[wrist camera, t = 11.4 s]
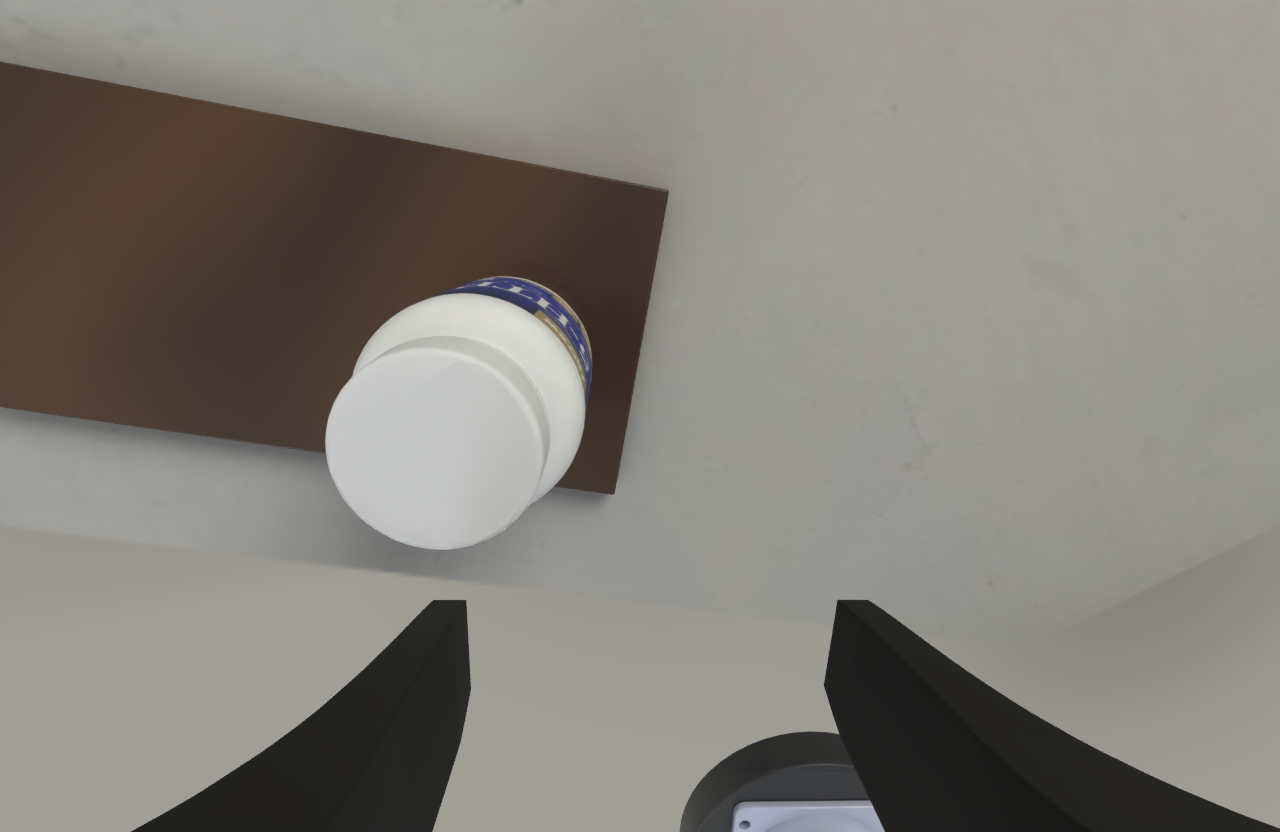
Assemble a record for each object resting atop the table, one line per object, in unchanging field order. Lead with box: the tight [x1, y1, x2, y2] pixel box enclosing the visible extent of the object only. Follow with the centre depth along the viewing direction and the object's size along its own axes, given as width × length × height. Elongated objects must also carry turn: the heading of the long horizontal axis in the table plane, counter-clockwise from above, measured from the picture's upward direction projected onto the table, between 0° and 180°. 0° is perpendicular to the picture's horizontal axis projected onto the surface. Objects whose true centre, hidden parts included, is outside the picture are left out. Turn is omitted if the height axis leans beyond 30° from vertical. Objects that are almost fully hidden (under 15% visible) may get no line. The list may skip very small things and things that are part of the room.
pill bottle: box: [325, 276, 592, 550], centre depth 16 cm, size 5×5×9 cm
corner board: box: [0, 62, 669, 494], centre depth 20 cm, size 20×10×1 cm, turn 80°
